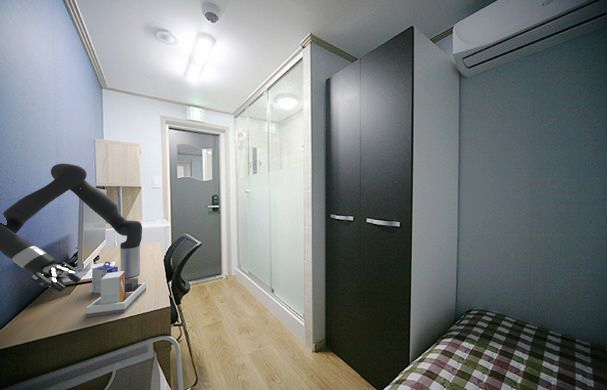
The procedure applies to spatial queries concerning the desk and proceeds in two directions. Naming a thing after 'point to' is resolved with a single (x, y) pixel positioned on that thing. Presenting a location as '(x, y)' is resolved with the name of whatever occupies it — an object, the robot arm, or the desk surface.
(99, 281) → the ink cartridge box
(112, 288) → the small box
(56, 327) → the desk surface
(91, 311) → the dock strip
